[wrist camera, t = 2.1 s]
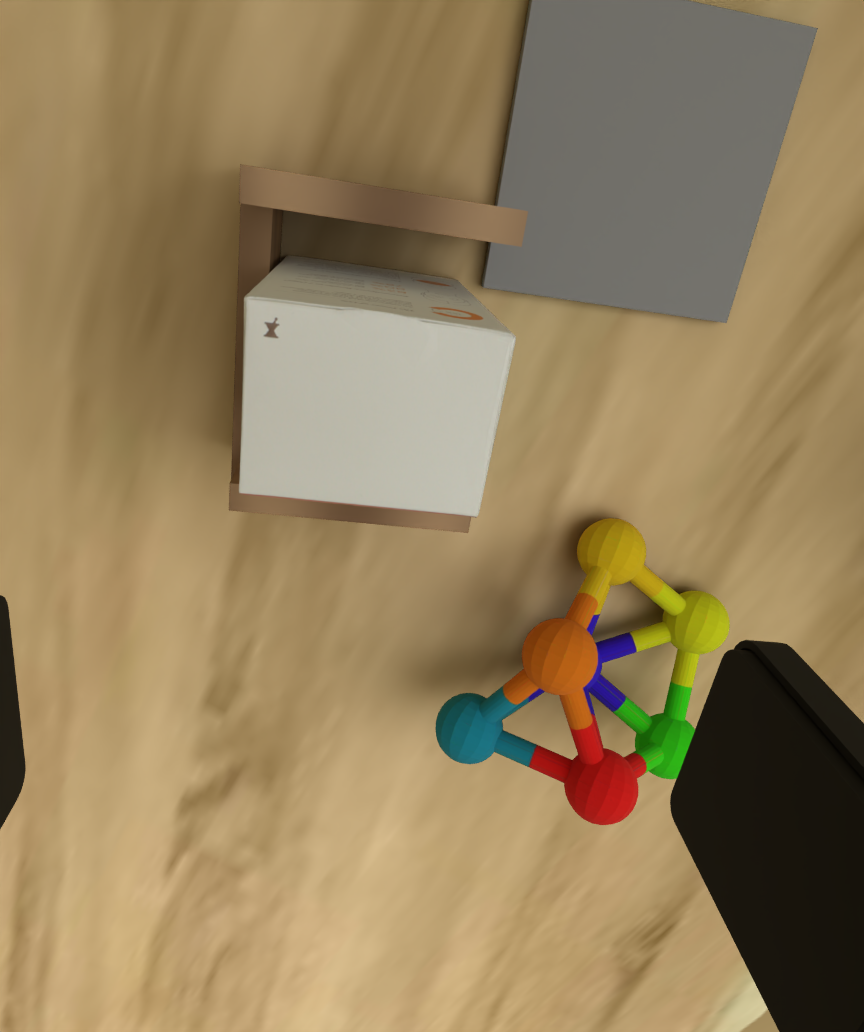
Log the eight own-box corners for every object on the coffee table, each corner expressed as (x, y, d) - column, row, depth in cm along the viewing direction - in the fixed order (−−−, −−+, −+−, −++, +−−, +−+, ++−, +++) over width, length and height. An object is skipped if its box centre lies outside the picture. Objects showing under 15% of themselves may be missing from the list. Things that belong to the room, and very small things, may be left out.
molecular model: (511, 486, 41) (409, 731, 39) (597, 480, 32) (470, 799, 30) (709, 583, 45) (625, 808, 44) (836, 604, 36) (735, 889, 34)
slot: (494, 206, 31) (528, 211, 25) (449, 473, 37) (468, 533, 30) (256, 168, 30) (228, 162, 24) (244, 451, 35) (218, 509, 29)
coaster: (809, 31, 30) (817, 28, 29) (720, 320, 35) (726, 323, 34) (534, -28, 28) (537, -32, 27) (481, 286, 33) (483, 287, 32)
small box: (276, 391, 34) (231, 497, 22) (284, 252, 31) (238, 289, 20) (441, 411, 35) (481, 522, 23) (462, 279, 33) (519, 329, 21)
